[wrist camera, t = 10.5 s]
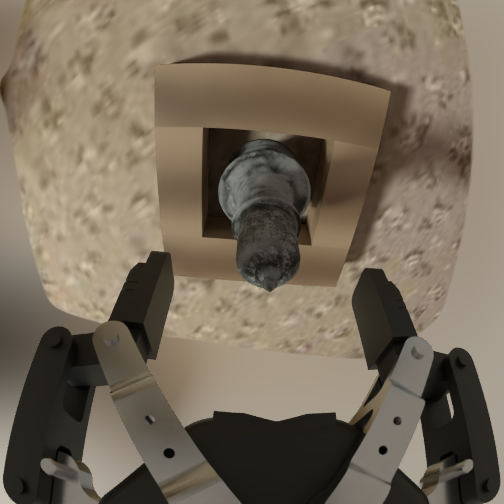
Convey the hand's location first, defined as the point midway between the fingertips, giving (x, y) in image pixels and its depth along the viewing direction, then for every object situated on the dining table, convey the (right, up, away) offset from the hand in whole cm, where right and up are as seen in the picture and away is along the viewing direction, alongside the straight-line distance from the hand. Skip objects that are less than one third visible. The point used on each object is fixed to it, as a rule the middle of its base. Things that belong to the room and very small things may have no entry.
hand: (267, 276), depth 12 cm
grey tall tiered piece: (0, +7, +9) cm, 12 cm away
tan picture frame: (0, +7, +9) cm, 11 cm away
